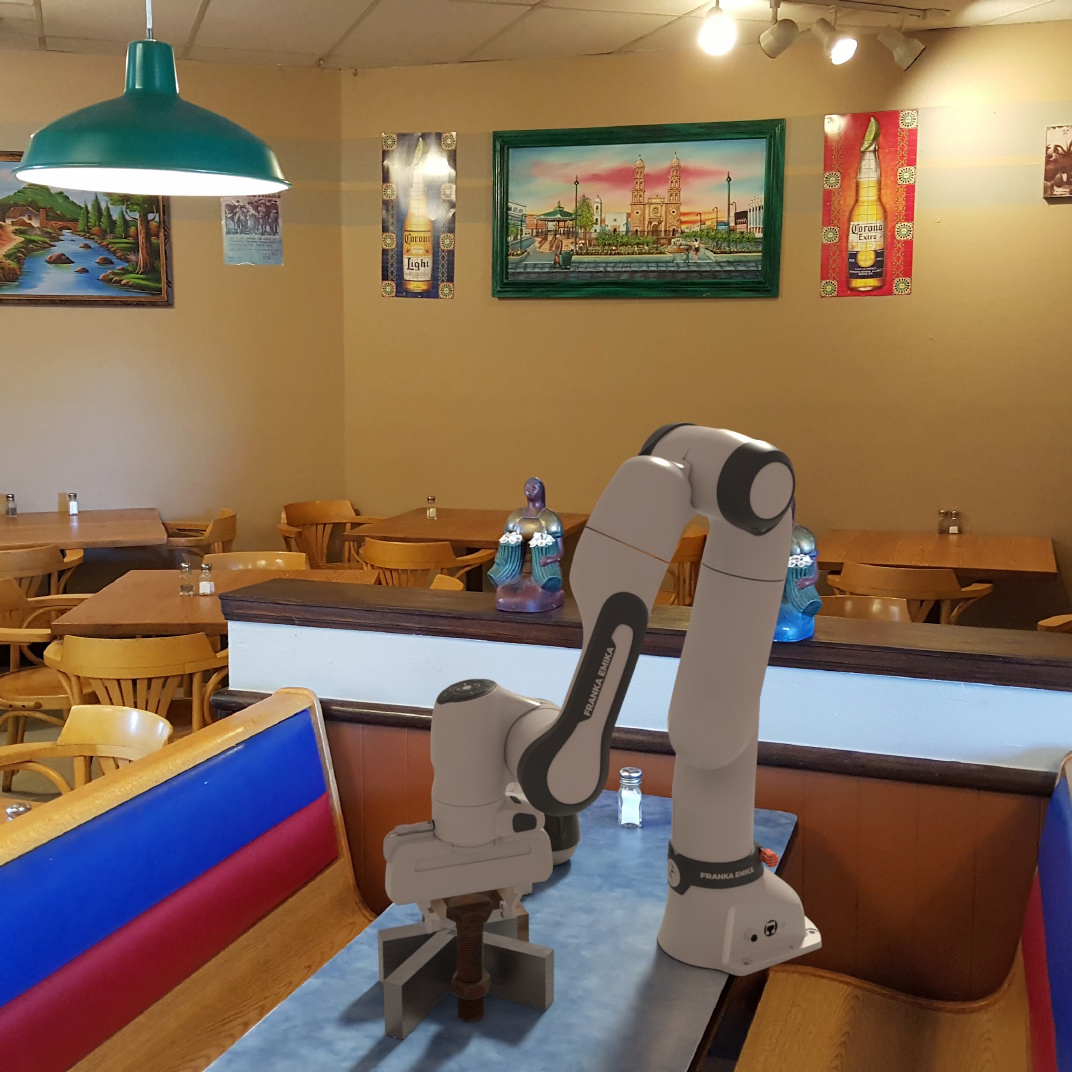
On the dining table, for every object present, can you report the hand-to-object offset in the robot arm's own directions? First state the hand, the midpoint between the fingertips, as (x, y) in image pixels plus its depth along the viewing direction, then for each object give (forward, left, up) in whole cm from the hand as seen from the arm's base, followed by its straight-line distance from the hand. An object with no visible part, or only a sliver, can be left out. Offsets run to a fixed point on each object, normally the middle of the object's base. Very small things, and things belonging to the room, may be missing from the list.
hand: (470, 923), depth 137 cm
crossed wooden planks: (0, -5, -12) cm, 13 cm away
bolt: (0, 0, -12) cm, 13 cm away
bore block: (-6, -19, -12) cm, 23 cm away
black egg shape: (-24, -38, -12) cm, 47 cm away
